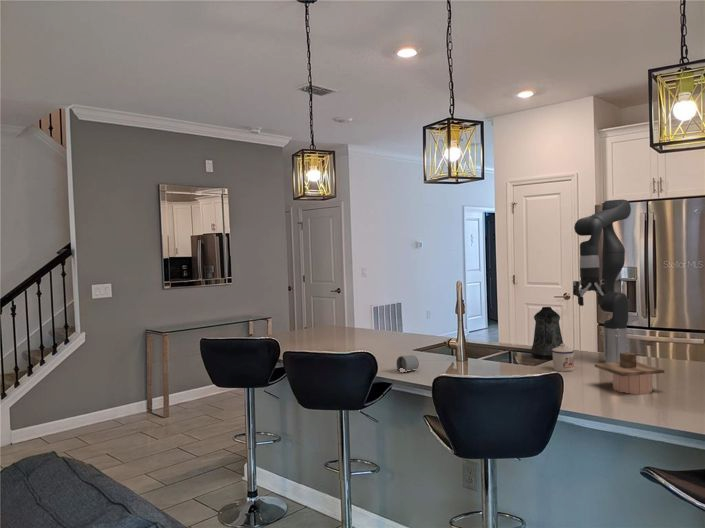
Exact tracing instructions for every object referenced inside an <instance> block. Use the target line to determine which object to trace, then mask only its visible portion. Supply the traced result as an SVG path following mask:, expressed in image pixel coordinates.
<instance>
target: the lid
mask: <svg viewBox="0 0 705 528" xmlns="http://www.w3.org/2000/svg"><path fill="white" fill-rule="evenodd" d="M594 367H595V368H597V369H600V370H602V371H606V372H608V373H611V374H612V373H614V374H617V375H620V376H634V375H646V374H652V375H655V374H657V375H658V374H665V369H663V368H659V367H656V366H652V365H650V364H646V363H643V362H642V363H641V362H638V361H637V354H636V353H633V352H630V353H629V352H628V353H620V362H612V363H605V362H601V363H600V362H599V363H594Z"/></svg>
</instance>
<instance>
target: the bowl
mask: <svg viewBox="0 0 705 528" xmlns="http://www.w3.org/2000/svg"><path fill="white" fill-rule="evenodd" d="M611 374H612V389H613V390H614V391H616V390H617V392H618V393H623V392H625V393H626V394H629V393H630V394H632V395H634V394H635V395H645V394H651V393H653V374H646V375H634V376H620V375H617V374H614V373H611Z"/></svg>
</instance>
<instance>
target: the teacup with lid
mask: <svg viewBox="0 0 705 528" xmlns="http://www.w3.org/2000/svg"><path fill="white" fill-rule="evenodd" d="M552 352H553V360H552V370H554V371H555V372H560V371H570V372H573V371H574V370H575V365H574V361H575V354H574V349H573V348H571V347H568V346H566V344H565V343H563V344H560V346H558V347H556V348H553V349H552Z"/></svg>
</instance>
